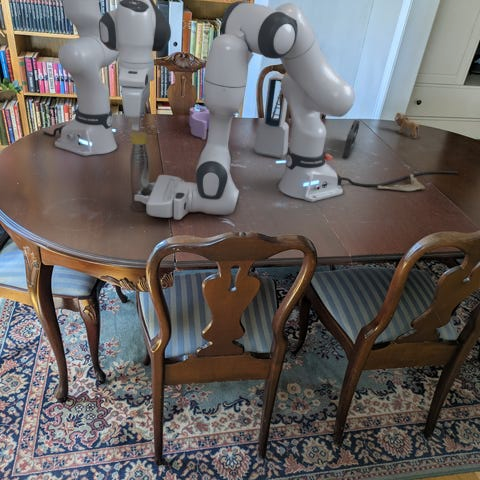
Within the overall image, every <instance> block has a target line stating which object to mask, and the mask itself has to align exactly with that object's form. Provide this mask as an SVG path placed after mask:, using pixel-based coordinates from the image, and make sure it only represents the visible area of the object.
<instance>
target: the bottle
mask: <svg viewBox="0 0 480 480" xmlns="http://www.w3.org/2000/svg"><path fill="white" fill-rule="evenodd" d="M130 150H131V151H130V154H129V155H130V156H129V157H130V160H129V162H130V163H129V164H130V184H131V186H130V187H131V189H130V190H131V208H132V210H134V211H135V212H145V211H146V204H144V203H143V202H141V201H135V200H134V196H135V194H136V193H141V195H143V196H150V190H149V183H150V181H149V180H150V179H149V178H150V175H149V173H150V172H149V153H148V149H147V145H146V144H142V145H137V144H133V143H132V145H131V149H130ZM146 212H147V211H146Z"/></svg>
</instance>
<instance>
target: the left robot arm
mask: <svg viewBox="0 0 480 480" xmlns="http://www.w3.org/2000/svg"><path fill="white" fill-rule="evenodd" d="M61 1H62V6H63V11H64V15H65V18H66V19H67V20H68V21H69V22H71V23H72V24H73V26H74V27H75V30H76V32H77V34H78V37H75V38H71V39H69V40H67V41H66V42H65V43H64V44H62V45H61V46H60V47H59V49H58V54H57V56H58V57H57V58H58V62H59V64H60V66H61V68H62V69H63V70H64V71H65V72H66V73H68V74H69V76H70V77H71V80H72V82H73V83H74V87H75V92H76V101H77V108H76V109H75V110H74V111H71V115H72V116H74V115H75V116H74V118H73V119H72V120H71V121H69V122H68V123H67V124H64V125H62V126H59V127H56V128H54V130H53V133H49V132H47V131H43V134H44V135H46V136H49V137H56V136H57V132H58V134H59V135H60V137H59V138H57V139H56V140H55V142H54V146H55V147H57V148H59V149H62V150H65V151H69V152H72V153H74V154H78V155H80V156H84V157H85V156H86V157H87V156H92V155H105V154H108V153H111V152H114V151H115V150H116V149H117V148H118V145H117V142H116V140H115V135H114V132H115V133H116V129H115V128H113V111H112V109H111V97H110V89H109V87H108V85H107V84H105V83H104V82H103V78H102V76H101V69H103V68H106V67H109V66H111V64H113V63H114V62H116V60H117V61H118V77H117V82H118V83H117V84H118V86H119V87H121V88H120V90H121V91H120V92H121V100H122V109H123V114H124V117H125V118H126V119H130V122H131V129H132V130H133V131H139V130H140V128H141V124H140V123H141V122H140V121H143V120H144V119H145V111H146V105H147V102H148V100H149V98H150V83H151V82H153V81H154V80H155V57H154V53H153V52H161V51H163V50H164V49H165V48H166V47H167V46H168V44H169V43H170V41H171V38H172V28H171V24H170V22H169V20H168V18H167V17H166V15H165V14H164V12H162V10H160V8H159V7H158V6H157V4H156V3H155V1H154V0H119V1H118V3H117V5H116V8H115V9H112V10H109V11H105V12H104V13H103V15H102V12H101V8H100V2H99V0H61Z"/></svg>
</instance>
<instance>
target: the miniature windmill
mask: <svg viewBox="0 0 480 480" xmlns="http://www.w3.org/2000/svg"><path fill="white" fill-rule="evenodd" d="M284 70H285V68H284V66H283V65H280V64H277V65H276V71H284ZM281 98H282V92H281V89H280V90H279V94H278V96H277V100H276V102H275V106H274V107H273V111H272V116H271V118H272V119H273V120H277V121H278V120H279V119H276V118H275V116H278V117H279V114H278V113H276V111H277V109H278V110H280V107H278V106H280V105H281V103H279V102H280V99H281ZM289 113H290V112H289V106H288V103H287V110H286V117H285V122H286V123H287V124H288V126H290V125H289V124H290V120H289V119H290V114H289Z"/></svg>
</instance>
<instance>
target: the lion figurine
mask: <svg viewBox="0 0 480 480" xmlns="http://www.w3.org/2000/svg"><path fill="white" fill-rule="evenodd" d="M394 122H395V123H396V125H397V126H399V131H397V133H398V134H401V133H402V132H403V131H404V129H408V130H411V132H412V133H411V134H410V136H412V139H416V138H417V137H418V138H419V139H422V137H421V136H420V127H419V126H420V125H419V123H418V122H416V121H411V120H409V117H407V116H406V114H404V113H403V112H396V114H395V116H394ZM402 130H403V131H402ZM400 131H402V132H400ZM416 131H417V132H416ZM413 134H414V135H413ZM414 136H415V137H414Z"/></svg>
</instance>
